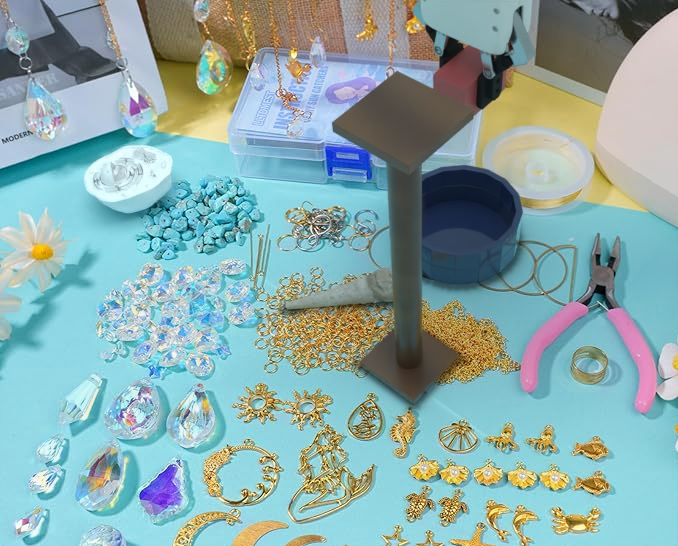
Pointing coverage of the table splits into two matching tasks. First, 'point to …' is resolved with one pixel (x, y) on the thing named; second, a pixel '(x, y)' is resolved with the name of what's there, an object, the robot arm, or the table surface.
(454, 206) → the pot
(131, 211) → the cell model
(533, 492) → the table surface
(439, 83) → the dusty pink block
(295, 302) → the seashell
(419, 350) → the stand
